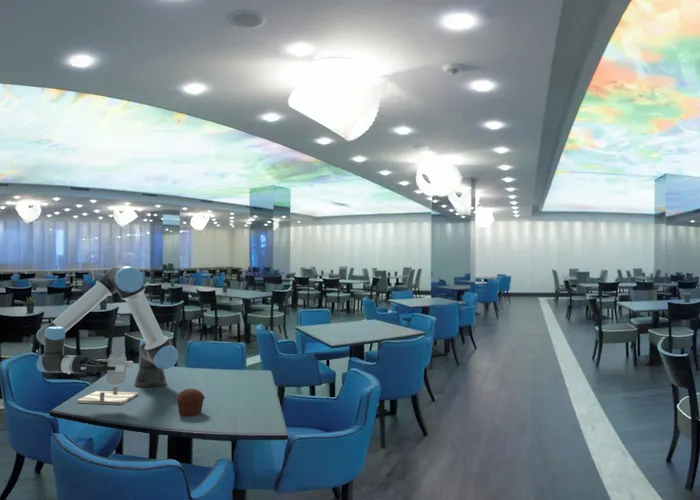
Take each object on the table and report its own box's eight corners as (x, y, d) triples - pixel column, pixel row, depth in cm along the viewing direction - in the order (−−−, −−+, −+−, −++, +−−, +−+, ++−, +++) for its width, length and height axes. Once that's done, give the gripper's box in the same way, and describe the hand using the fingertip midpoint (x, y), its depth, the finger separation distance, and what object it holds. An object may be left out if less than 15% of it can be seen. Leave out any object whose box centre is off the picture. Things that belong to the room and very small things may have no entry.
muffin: (209, 411, 219) (210, 387, 219) (195, 418, 208) (196, 394, 208) (184, 408, 222) (185, 385, 222) (169, 415, 211) (170, 391, 211)
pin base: (97, 393, 241) (97, 384, 241) (138, 395, 240) (138, 386, 240) (76, 402, 225) (77, 393, 225) (121, 404, 224) (121, 395, 224)
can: (129, 381, 222) (130, 353, 222) (116, 385, 215) (118, 356, 215) (115, 379, 224) (116, 352, 225) (102, 383, 217) (103, 355, 218)
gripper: (88, 368, 231) (138, 370, 230) (61, 378, 210) (116, 380, 210) (88, 351, 231) (138, 353, 230) (62, 360, 210) (116, 362, 210)
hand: (128, 366), depth 220 cm, fingers closed on can, 7 cm apart
